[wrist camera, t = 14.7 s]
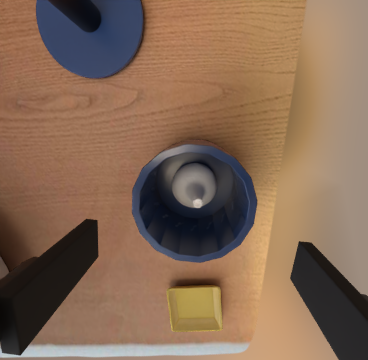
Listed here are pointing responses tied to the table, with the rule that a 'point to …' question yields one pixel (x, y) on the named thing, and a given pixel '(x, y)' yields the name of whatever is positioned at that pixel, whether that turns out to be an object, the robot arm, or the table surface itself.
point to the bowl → (3, 269)
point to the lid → (91, 33)
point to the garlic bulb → (194, 185)
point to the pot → (194, 217)
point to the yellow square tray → (195, 308)
